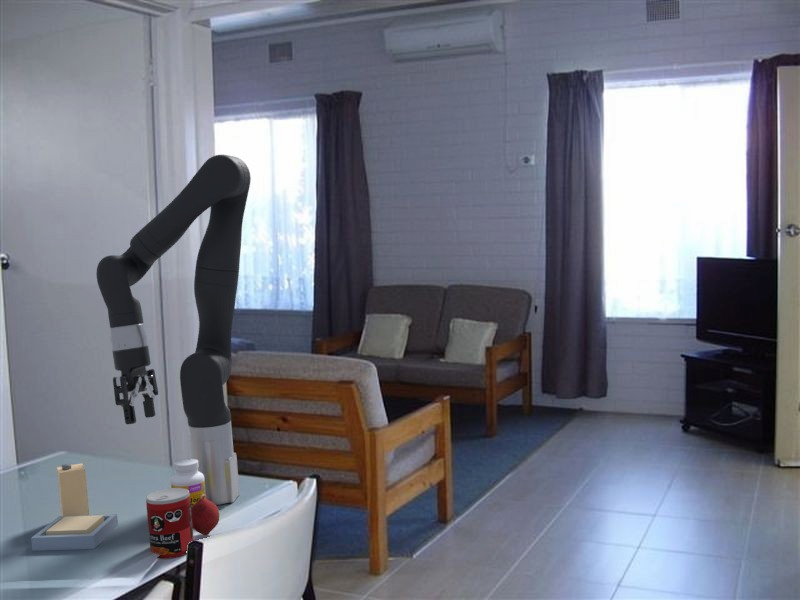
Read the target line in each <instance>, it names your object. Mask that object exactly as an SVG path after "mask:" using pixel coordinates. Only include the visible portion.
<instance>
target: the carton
mask: <svg viewBox="0 0 800 600" xmlns="http://www.w3.org/2000/svg"><path fill="white" fill-rule="evenodd" d="M86 473H87V472H86V468H85V466H84V464H83V463H82V462H81V463H75V464H71V463H64V464H62V465H61V466H57V467H56V474H57V482H58V484H57V485H58V493H59V503H60V504H59V506H60V514H61V515H60V516H80V515H90V509H89V508H90V506H89V498H88V496H89V495H88V486H87V475H86Z"/></svg>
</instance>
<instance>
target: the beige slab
mask: <svg viewBox="0 0 800 600" xmlns="http://www.w3.org/2000/svg"><path fill="white" fill-rule="evenodd" d="M101 515H102V516H75V517H64V518H62V519H61V520H60V521H58V522H57V523H56V524H55V525H53V526H52V527H51V528H49V529H48V530H47V531H46V536H47V535H75V534H90V533H92V532H93V531H94V530H95V529H96V528H97V527H98V526H100V525H101V524H102V523H103V522H104V517H103V515H104V514H101Z"/></svg>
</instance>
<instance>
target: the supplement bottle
mask: <svg viewBox="0 0 800 600" xmlns="http://www.w3.org/2000/svg"><path fill="white" fill-rule="evenodd" d="M198 467H199V464H198V460H196V459H191V458H186V459H180V460H177V461H175V462H174V470H175V474H174V475H173V476H172V477H171V479H170V485H171V487H170V488H184V489H187V490H189V494H190V503H191V508H192V506H193V505H194V504H195V503H196V502H197V501H198V500H199V499H200V497H201V495H206V493H205V479H204V475H203V474H202V473H201V472H199V471H198Z"/></svg>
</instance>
